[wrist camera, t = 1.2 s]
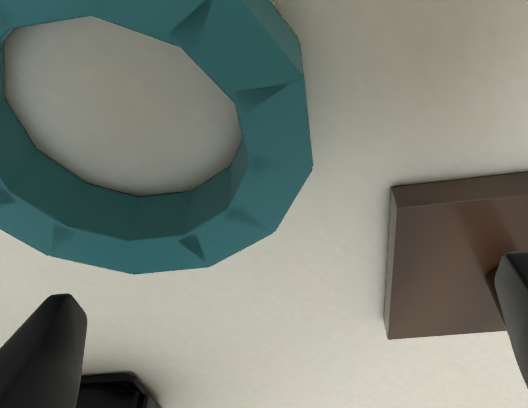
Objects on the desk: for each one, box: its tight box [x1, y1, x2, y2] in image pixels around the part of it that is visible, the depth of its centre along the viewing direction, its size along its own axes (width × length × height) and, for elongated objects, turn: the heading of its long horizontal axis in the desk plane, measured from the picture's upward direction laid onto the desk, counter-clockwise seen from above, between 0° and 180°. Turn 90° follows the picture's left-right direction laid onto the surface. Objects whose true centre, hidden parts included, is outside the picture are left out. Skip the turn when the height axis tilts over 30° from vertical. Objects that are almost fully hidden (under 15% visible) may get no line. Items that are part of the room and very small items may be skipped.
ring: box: [0, 0, 313, 274], centre depth 15 cm, size 12×12×2 cm
